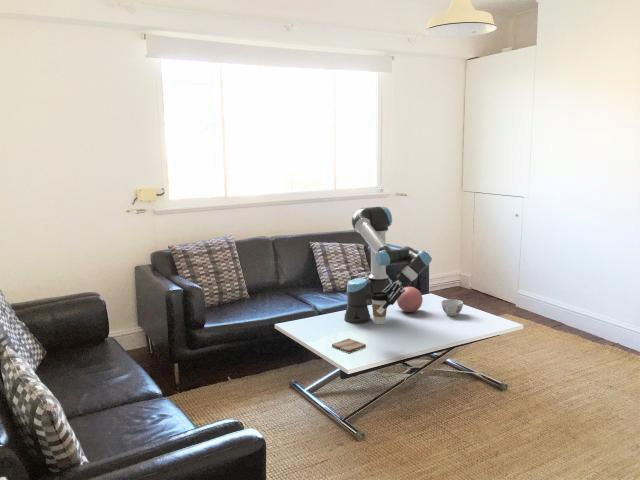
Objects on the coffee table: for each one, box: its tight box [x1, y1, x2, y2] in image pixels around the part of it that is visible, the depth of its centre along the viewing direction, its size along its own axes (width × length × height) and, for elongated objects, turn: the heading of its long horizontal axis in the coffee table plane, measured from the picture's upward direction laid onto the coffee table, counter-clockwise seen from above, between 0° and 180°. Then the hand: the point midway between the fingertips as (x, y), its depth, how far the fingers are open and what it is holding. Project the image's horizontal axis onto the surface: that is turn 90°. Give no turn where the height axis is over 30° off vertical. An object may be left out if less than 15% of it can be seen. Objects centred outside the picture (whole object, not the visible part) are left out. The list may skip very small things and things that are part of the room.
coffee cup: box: [371, 292, 389, 325], centre depth 269 cm, size 8×8×15 cm
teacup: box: [440, 299, 464, 317], centre depth 315 cm, size 15×12×8 cm
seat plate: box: [331, 337, 366, 353], centre depth 270 cm, size 12×12×1 cm
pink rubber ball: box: [396, 286, 424, 313], centre depth 324 cm, size 15×20×15 cm
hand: (375, 310), depth 268 cm, fingers closed on coffee cup, 8 cm apart
